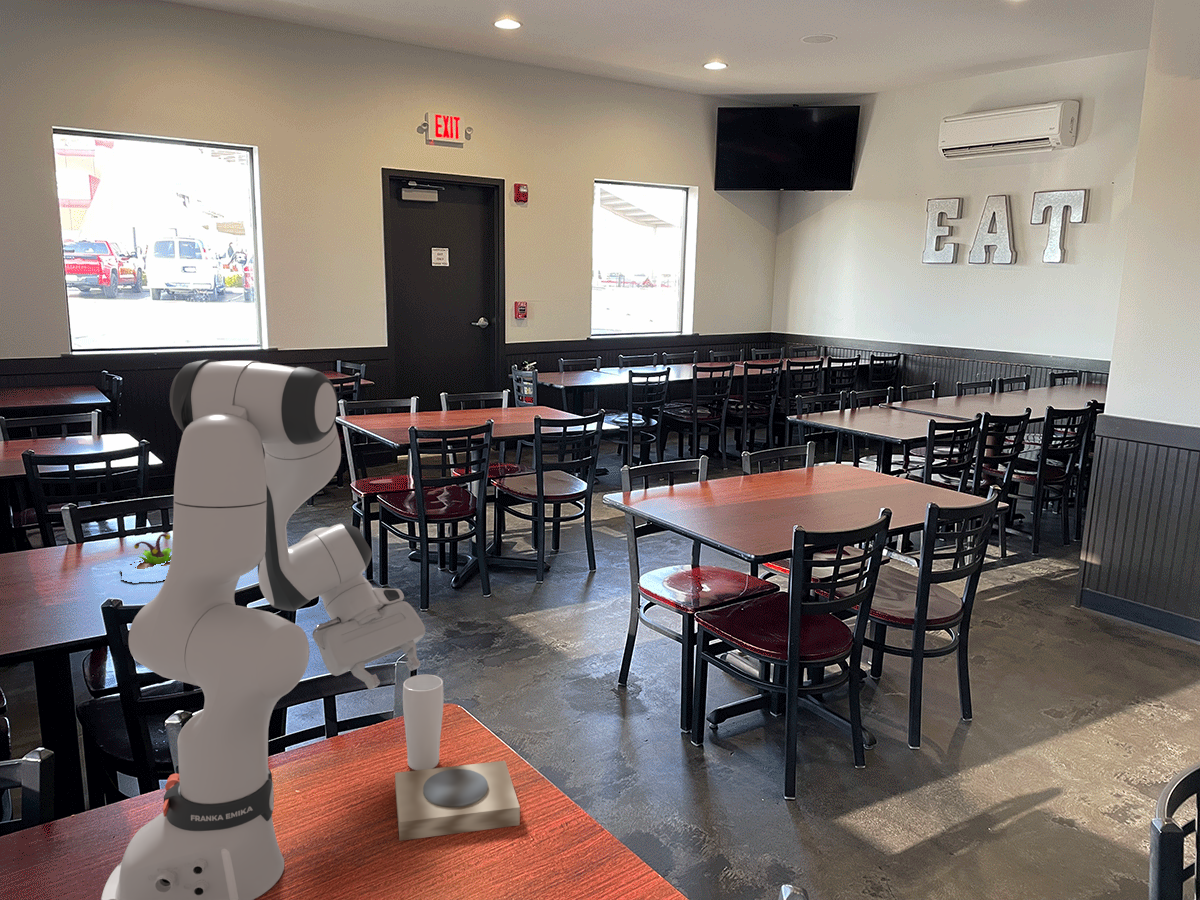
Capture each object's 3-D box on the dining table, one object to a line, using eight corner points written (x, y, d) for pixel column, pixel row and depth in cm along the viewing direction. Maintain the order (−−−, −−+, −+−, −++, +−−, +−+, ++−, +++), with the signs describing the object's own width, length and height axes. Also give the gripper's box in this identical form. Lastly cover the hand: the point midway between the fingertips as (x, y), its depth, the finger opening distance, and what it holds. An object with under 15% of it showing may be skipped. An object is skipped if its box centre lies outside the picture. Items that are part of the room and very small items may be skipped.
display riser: (399, 840, 130) (399, 818, 129) (395, 789, 143) (395, 769, 143) (519, 825, 135) (520, 803, 134) (504, 777, 148) (505, 757, 147)
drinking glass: (434, 777, 147) (434, 693, 145) (396, 771, 149) (395, 688, 146) (449, 757, 154) (449, 676, 151) (412, 752, 155) (412, 672, 153)
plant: (201, 578, 244) (199, 539, 242) (121, 588, 235) (119, 547, 233) (194, 559, 261) (192, 522, 260) (119, 567, 252) (117, 529, 250)
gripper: (316, 618, 146) (357, 689, 142) (407, 587, 163) (446, 650, 159) (300, 637, 149) (339, 707, 145) (390, 604, 166) (428, 666, 162)
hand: (396, 677), depth 152 cm, fingers open, 8 cm apart
